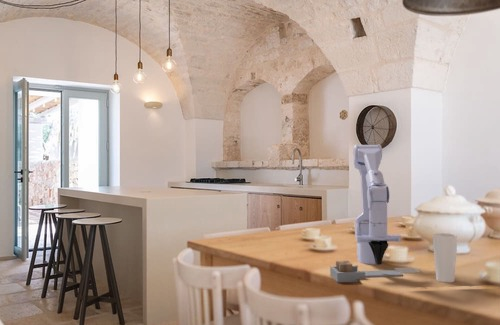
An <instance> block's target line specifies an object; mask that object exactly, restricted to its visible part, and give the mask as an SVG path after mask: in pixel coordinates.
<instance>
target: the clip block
mask: <svg viewBox="0 0 500 325" xmlns="http://www.w3.org/2000/svg"><path fill="white" fill-rule="evenodd" d="M335 266H336V269H337V270H338V271H339V272H352V266H353V263H351V262H350V261H348V260H336V261H335Z"/></svg>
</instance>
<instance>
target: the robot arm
mask: <svg viewBox="0 0 500 325" xmlns="http://www.w3.org/2000/svg"><path fill="white" fill-rule="evenodd" d="M352 154H353V166H354V168H355V169H356V170H358V171H359V175H360V189H361V191H360V192H361V208H362V209H361V210H362V211H361V212H362V213H361V214H359V215H358V216H357V217H356V218H355V219H354V220H355V222H354V224H355V225H354V236H355V243H357V244H356V259H357V260H358V262H359V263H360V264H363V265H364V264H365V265H378V266H379V265H382V264H383V258H384V256H385V253H386V251H387V249H388V247H389V243H391V242H396V243H397V242H398V243H402V236H401V235H400V234H388V204H389V203H390V202H389V201H390V190H389V186H388V185H387V184H386V183H385V180H384V179H385V178H384V174H383V172H381V171H380V170H379V167H380V165H381V162H382V159H383V148H382V145H381V144H354V146H353V152H352ZM388 242H389V243H388Z"/></svg>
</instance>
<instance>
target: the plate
mask: <svg viewBox="0 0 500 325" xmlns="http://www.w3.org/2000/svg"><path fill="white" fill-rule="evenodd" d="M393 270H397V271H398V272H400V273H402V274H411V273H414V274H415V273H419V274H420V273H421V271H420V270H418V269H416V268H415V267H412V266H411V267H393Z"/></svg>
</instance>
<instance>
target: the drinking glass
mask: <svg viewBox="0 0 500 325" xmlns="http://www.w3.org/2000/svg"><path fill="white" fill-rule="evenodd" d="M432 244H433V246H432V247H433V257H434V270H435V280H436V281H438V282H443V283H454V282H455V278H456V277H455V274H456V273H455V272H456V262H457V252H458V251H457V250H458V249H457V248H458V240H457V235H456V234H453V233H440V232H439V233H434V234H433V242H432Z"/></svg>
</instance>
